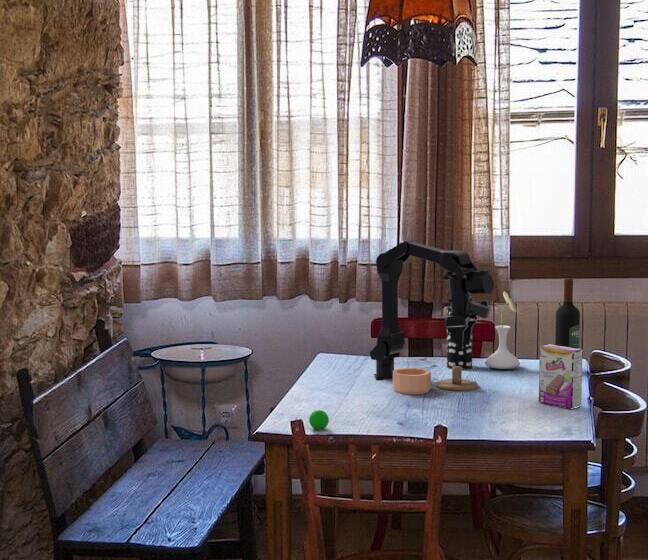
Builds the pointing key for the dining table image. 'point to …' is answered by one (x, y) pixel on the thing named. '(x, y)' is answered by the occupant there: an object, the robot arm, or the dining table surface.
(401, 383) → the bowl
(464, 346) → the spotted tube
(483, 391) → the mat
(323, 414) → the green ball
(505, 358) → the flower in vase
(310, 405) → the dining table surface
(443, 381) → the lid
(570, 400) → the candy bar box
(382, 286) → the robot arm
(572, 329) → the wine bottle
